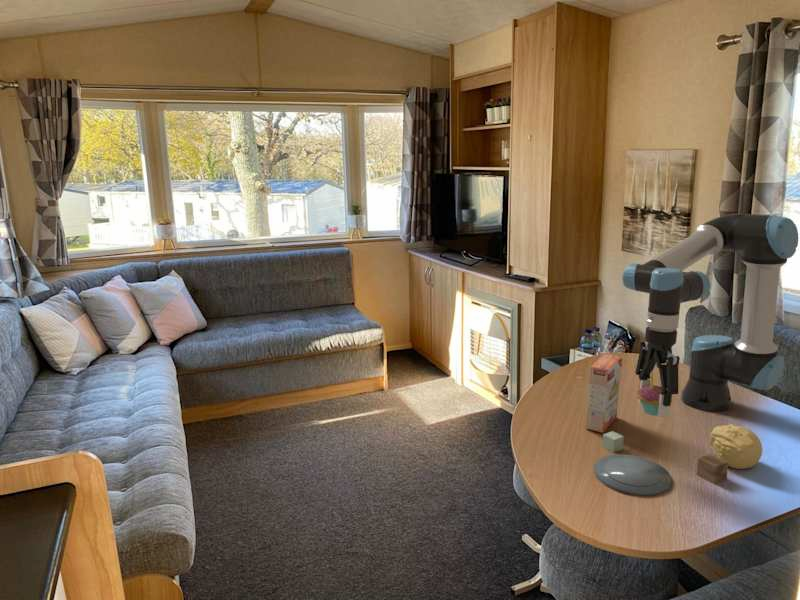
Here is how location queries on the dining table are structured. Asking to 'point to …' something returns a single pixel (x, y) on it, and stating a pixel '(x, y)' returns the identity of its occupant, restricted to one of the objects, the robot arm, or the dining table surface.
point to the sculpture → (736, 446)
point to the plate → (632, 475)
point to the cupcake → (650, 397)
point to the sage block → (613, 441)
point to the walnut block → (712, 468)
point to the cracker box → (603, 393)
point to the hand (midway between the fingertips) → (653, 409)
